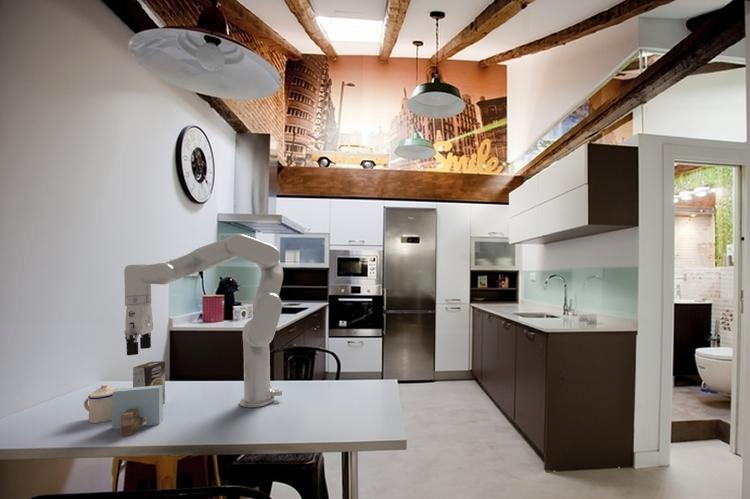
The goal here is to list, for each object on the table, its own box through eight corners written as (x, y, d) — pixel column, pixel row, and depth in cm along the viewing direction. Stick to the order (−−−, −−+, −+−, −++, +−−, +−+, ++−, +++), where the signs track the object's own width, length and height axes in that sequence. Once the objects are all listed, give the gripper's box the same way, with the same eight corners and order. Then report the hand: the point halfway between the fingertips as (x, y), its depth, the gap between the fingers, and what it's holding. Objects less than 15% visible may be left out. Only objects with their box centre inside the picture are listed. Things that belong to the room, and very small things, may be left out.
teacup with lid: (126, 413, 131) (126, 380, 132) (105, 423, 122) (105, 388, 123) (95, 413, 132) (95, 380, 133) (72, 423, 123) (73, 389, 124)
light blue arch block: (162, 420, 123) (162, 385, 124) (159, 424, 120) (159, 387, 121) (117, 425, 121) (117, 388, 121) (112, 429, 118) (112, 391, 118)
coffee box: (146, 412, 131) (146, 367, 132) (131, 411, 133) (132, 367, 134) (165, 403, 140) (165, 360, 141) (151, 402, 142) (151, 360, 142)
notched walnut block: (143, 415, 128) (143, 397, 128) (152, 415, 129) (152, 396, 129) (120, 436, 112) (120, 414, 113) (131, 435, 113) (131, 413, 113)
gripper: (139, 302, 115) (140, 356, 114) (160, 297, 132) (161, 345, 131) (112, 303, 113) (113, 358, 113) (137, 299, 130) (138, 347, 130)
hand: (139, 351), depth 122 cm, fingers open, 9 cm apart
